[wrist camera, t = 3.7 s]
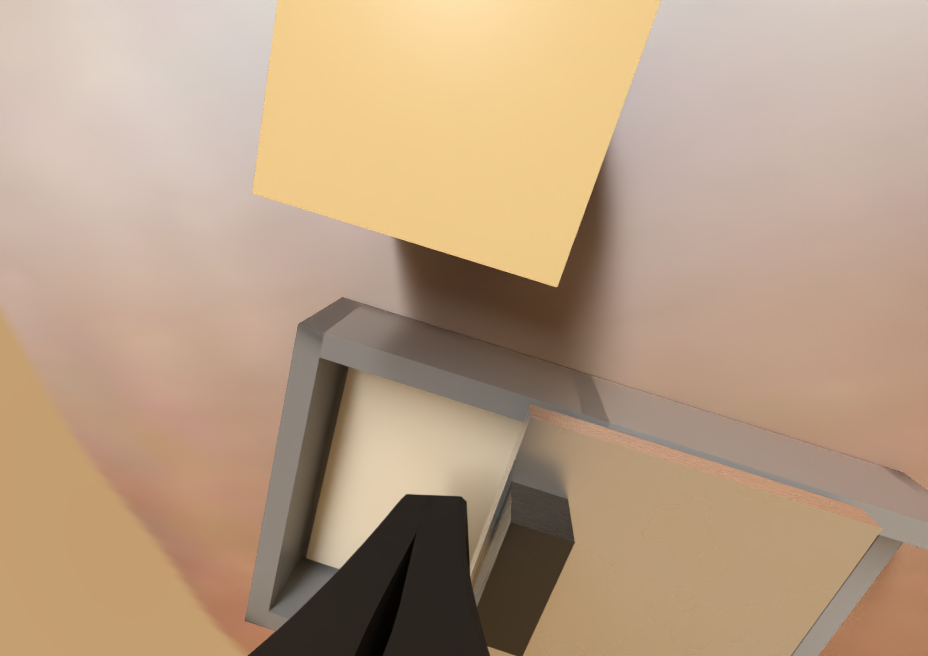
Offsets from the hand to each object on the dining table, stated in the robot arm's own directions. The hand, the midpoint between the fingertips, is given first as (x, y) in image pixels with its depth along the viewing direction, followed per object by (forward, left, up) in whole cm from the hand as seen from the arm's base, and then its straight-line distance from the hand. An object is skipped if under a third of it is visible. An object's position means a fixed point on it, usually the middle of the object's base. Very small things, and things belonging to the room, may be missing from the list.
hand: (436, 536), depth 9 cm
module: (+2, -8, -4) cm, 9 cm away
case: (-4, +2, -4) cm, 6 cm away
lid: (-4, +1, -1) cm, 5 cm away
